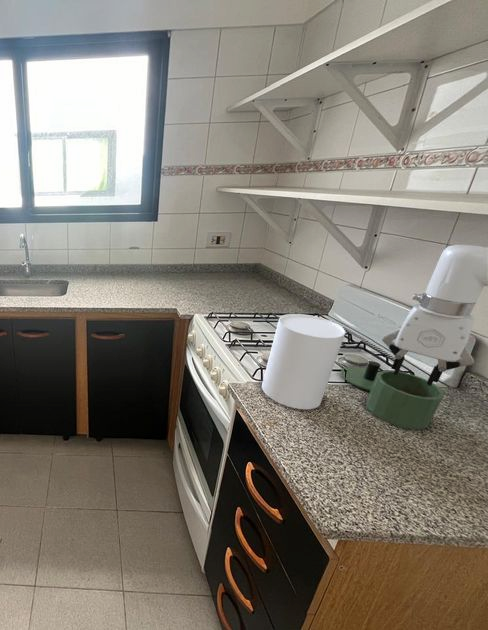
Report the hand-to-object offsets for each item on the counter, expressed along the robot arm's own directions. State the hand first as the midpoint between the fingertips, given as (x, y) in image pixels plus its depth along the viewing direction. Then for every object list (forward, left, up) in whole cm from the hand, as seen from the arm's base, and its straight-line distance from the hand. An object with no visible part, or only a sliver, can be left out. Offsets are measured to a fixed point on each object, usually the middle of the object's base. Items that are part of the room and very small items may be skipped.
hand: (412, 377), depth 80 cm
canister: (+22, +4, -11) cm, 25 cm away
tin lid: (+4, -13, -10) cm, 17 cm away
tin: (0, 0, -10) cm, 10 cm away
